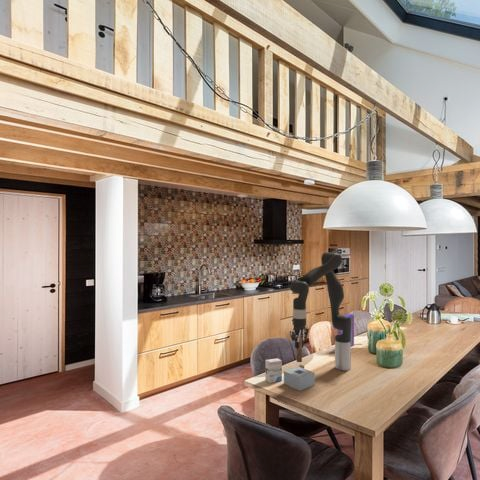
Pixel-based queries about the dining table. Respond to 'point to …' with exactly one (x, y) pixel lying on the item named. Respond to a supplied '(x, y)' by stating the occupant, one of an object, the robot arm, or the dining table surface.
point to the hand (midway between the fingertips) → (299, 347)
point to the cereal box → (351, 329)
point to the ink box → (273, 370)
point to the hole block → (299, 378)
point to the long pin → (299, 351)
